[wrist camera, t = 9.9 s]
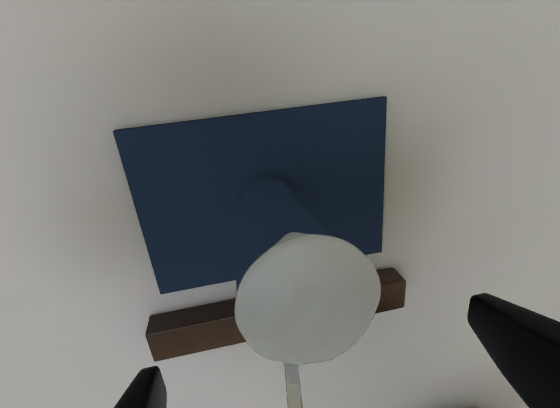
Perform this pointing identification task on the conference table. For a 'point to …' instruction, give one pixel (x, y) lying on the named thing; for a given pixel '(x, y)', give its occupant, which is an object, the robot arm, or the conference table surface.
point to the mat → (251, 180)
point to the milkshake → (298, 281)
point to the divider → (232, 322)
